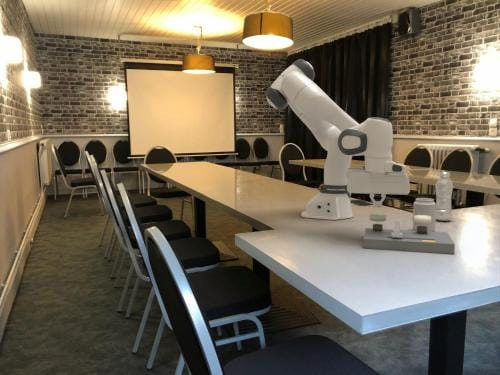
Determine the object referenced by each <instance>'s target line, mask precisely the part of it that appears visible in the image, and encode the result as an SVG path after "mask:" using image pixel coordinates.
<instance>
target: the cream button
mask: <svg viewBox="0 0 500 375" xmlns="http://www.w3.org/2000/svg"><path fill="white" fill-rule="evenodd" d="M414 222H416V223H431V216H427V215H415V216H414Z"/></svg>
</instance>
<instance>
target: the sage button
mask: <svg viewBox="0 0 500 375" xmlns="http://www.w3.org/2000/svg"><path fill="white" fill-rule="evenodd" d="M369 220H370V221H371V222H385V221H387V214H385V213H381V212H374V213H373V212H372V213H370V214H369Z"/></svg>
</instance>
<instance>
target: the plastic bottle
mask: <svg viewBox="0 0 500 375" xmlns="http://www.w3.org/2000/svg"><path fill="white" fill-rule="evenodd" d="M450 178H451V172H449V171H440V172H439V178H438V180H436V182H435V185H434V187H435V194H436V196H435V197H436V202H435V203H436V212H435V221H437V220H438V221H441V222H449V221H451V220H452V219H453V211H452V195H453V191H454V184H453V182H452V180H451V179H450Z"/></svg>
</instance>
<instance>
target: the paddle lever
mask: <svg viewBox="0 0 500 375" xmlns="http://www.w3.org/2000/svg"><path fill="white" fill-rule="evenodd" d="M400 227H401V219H400V218H394V229H395V232H392V237H397V238H403V235H402V233H400V230H401V228H400Z"/></svg>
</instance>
